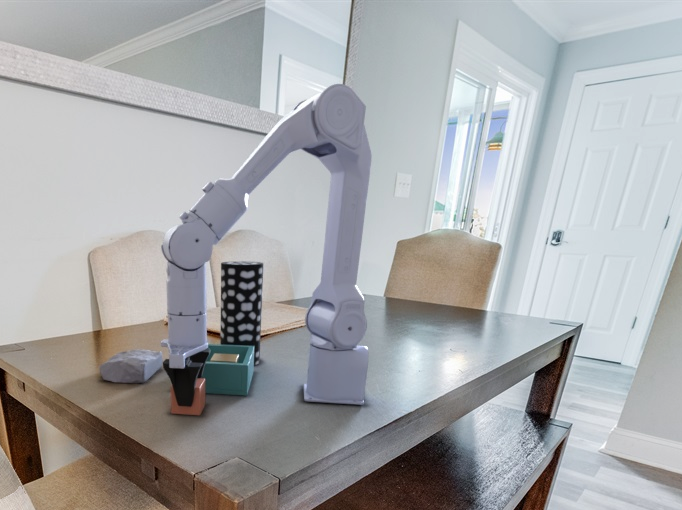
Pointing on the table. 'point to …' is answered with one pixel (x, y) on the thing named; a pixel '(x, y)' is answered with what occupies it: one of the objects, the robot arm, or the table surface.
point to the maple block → (225, 358)
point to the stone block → (131, 366)
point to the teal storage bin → (229, 370)
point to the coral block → (197, 401)
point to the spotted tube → (241, 304)
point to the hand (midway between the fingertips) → (188, 399)
